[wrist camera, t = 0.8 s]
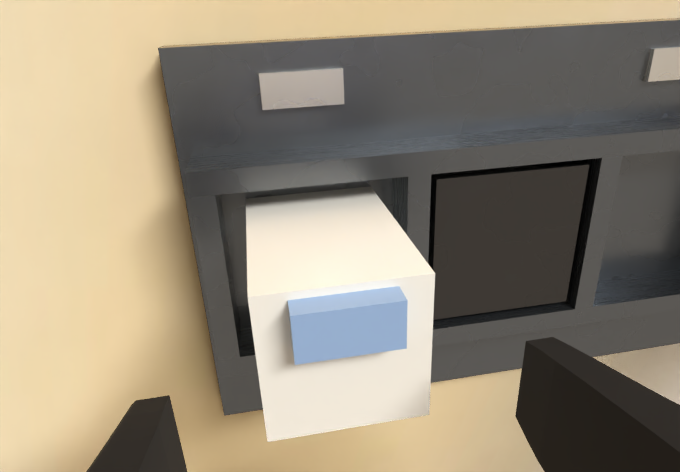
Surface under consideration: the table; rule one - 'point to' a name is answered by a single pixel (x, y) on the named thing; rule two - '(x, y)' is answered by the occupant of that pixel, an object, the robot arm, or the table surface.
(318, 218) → the cream white rectangular block
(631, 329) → the grey compartment tray
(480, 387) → the table surface
